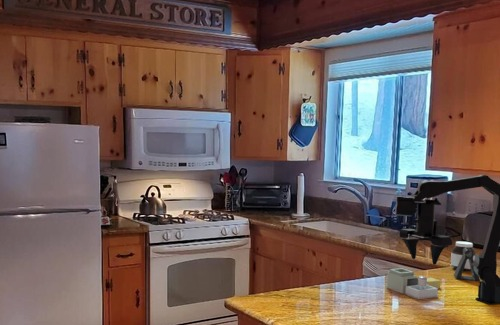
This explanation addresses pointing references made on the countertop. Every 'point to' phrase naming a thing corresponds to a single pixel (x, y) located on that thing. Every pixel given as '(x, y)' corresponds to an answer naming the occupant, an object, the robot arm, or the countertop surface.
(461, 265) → the phone stand
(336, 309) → the countertop surface
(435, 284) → the chock
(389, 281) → the grey-green hollow stepped block
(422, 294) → the tray
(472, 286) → the countertop surface
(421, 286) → the pin
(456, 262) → the spread jar
